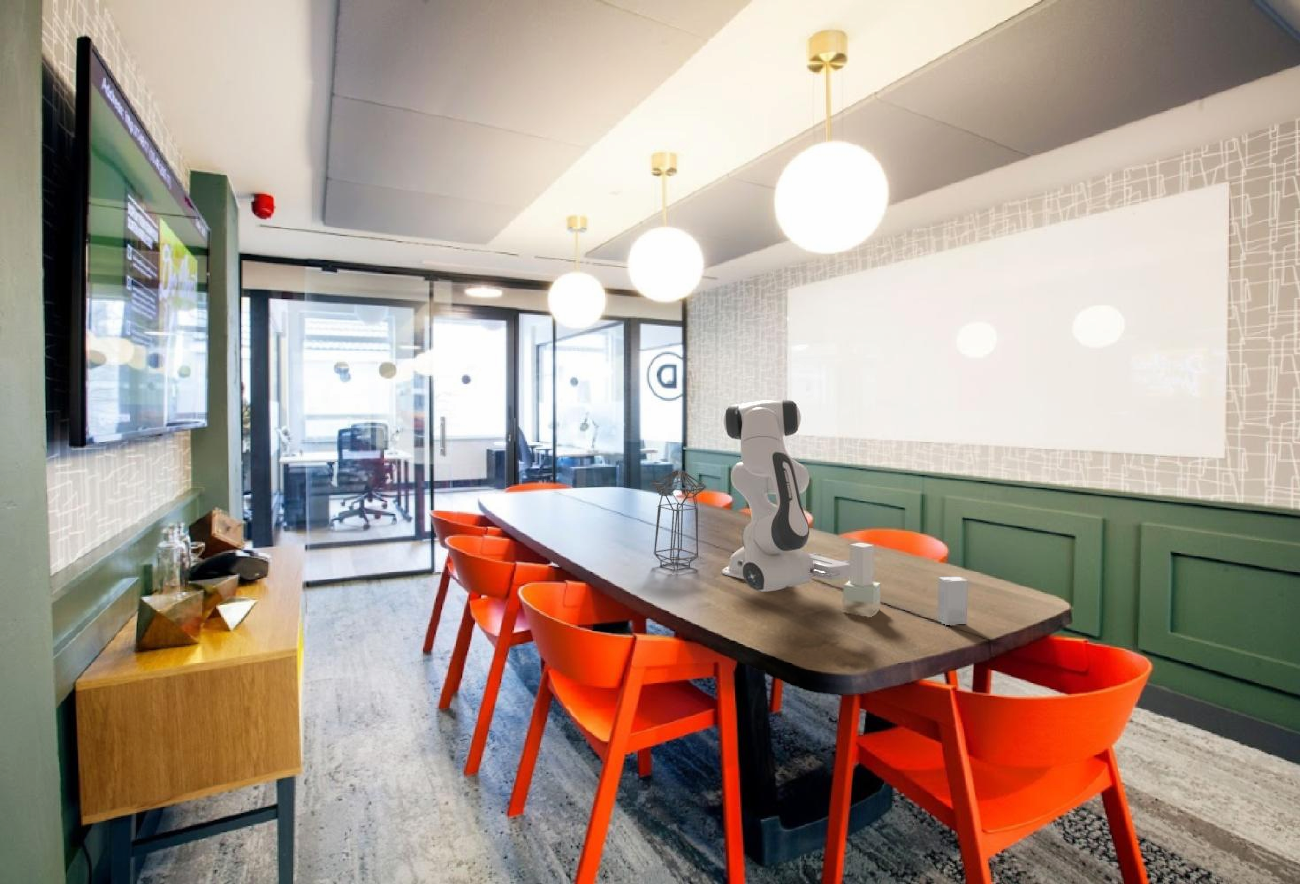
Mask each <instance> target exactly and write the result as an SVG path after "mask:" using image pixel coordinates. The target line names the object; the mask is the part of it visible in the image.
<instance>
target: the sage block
mask: <svg viewBox="0 0 1300 884" xmlns="http://www.w3.org/2000/svg"><path fill="white" fill-rule="evenodd" d="M881 585H882V583H881V582H876V581H874V584H873V585H869V586H865V587H861V586H858V585H854V584H851V583H850V579H849V580H848V581H847V582H845V583H843V587H842V588H843V596H842V599H846V600H852V601H858V602H864V603H869V604H873V603H874V602H875V601H877V600H878V599H879V598H880V599H881Z"/></svg>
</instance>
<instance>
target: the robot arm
mask: <svg viewBox="0 0 1300 884" xmlns="http://www.w3.org/2000/svg"><path fill="white" fill-rule="evenodd" d="M724 413H725V414H724V417H723V426H724V430H725V432H726V434H727V435H728V436H729V437H730V438H731V439H734V440H740V457H741V458H740V459H741V461H740V462H736V463H735V465H734V466H733V467H732V470H731V472H730V481H731V484H732V486H733V488H734V489H735V490H736V491H737V492H739V494H741V496H742V497H743V498H744V499H745V500H746V502H747V504H748V506H749V509H750V515H751V516H750V517H751V521H750V522H749V523H747V524H746V525H745V526H744V528H743V531H742V536H741V537H742V538H741V539H742V545H743V546H742V547H741V548H739V549H737V550H736V551H735V552H734V553H732V555H731V556H730V558H729V562H728V566H726V567H724V568H723V569H722V572H721V574H723V575H725V576H728V577H733V578H737V579H741V580H744V581H745V582H746V583H745V584H747V585H748V587H749V588H751V589H753V590H754V591H758V592H774V591H779V590H782V589H785V588H786V587H790V588H791V587H796V586H797V587H798V586H802V585H806V584H808V583H810V582H811V581H812V580H813V578H814V577H816V578H818V579H823V580H826V581H839V580H846V579H850V574H851V566H850V560H845V559H843V560H837V559H833V558H829V557H826V556H823V555H822V554H820V553H818V552H813V553H811V552H810V553H809V552H807V550H803V549H802V548H804V547H805V545H807V542H808V540H809V536H810V525H809V522H808V519H807V516H806V513H805V511H804V509H803V504H802V499H801V496H800V495H801V494H803V493H804V492H805V491H806V490H807V488H808V487H809V483H810V474H809V471H808V470H807V467H806V466H804V465H803V464H802V463H800V462H798V461H797V460H795V459H794V458H793V457H791V455H790V454H789V453H788V452H787V450H786V447H785V443H784V436H785V437H789V436H792V435H795V434H796V433H797V431H799V427H800V425H801V420H802V417H801V412H800V409H799V408H798V405H797V403H795V402H794V400H791V399H790V400H788V399H782V400H770V399H769V400H759V401H752V402H746V403H745V402H744V403H741V404H740V403H736V404H732V405H730V406H728V408H727V409H726V410H725V412H724ZM768 495H775V499H776V503H777V504H775V503H773V502H771V501H770V500H769V496H768Z"/></svg>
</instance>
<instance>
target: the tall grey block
mask: <svg viewBox="0 0 1300 884" xmlns="http://www.w3.org/2000/svg"><path fill="white" fill-rule="evenodd" d="M874 560H875V545H874V544H871V543H870V544H869V543H864V542H856V543H851V544H849V564H850V566H851V574H850V577H849V580H850V583H851V584H854V585H858V586H861V587H865V586H869V585H873V584H874V582H875V580H874V579H875V577H874V576H875V573H874V572H875V566H874V565H875V561H874Z"/></svg>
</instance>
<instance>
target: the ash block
mask: <svg viewBox="0 0 1300 884" xmlns="http://www.w3.org/2000/svg"><path fill="white" fill-rule="evenodd" d="M841 603H842V606H841V607H842V608H841V612H842V613H845V612H846V613H845V614H849V613H851V614H850V615H854V614H855V615H856V616H859V615H860V617H864V616H868V617H867V618H869V617H872V616H873V617H874V616H876V614H877V612H878V611H879V610H880V611H881V597H880V598H879V599H878V600H877V601H875V602H874V603H873V604H869V603H864V602H858V601H852V600H846V599H843V598H842V602H841ZM880 611H879V612H880ZM879 612H878V613H879ZM873 617H872V618H873Z"/></svg>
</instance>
